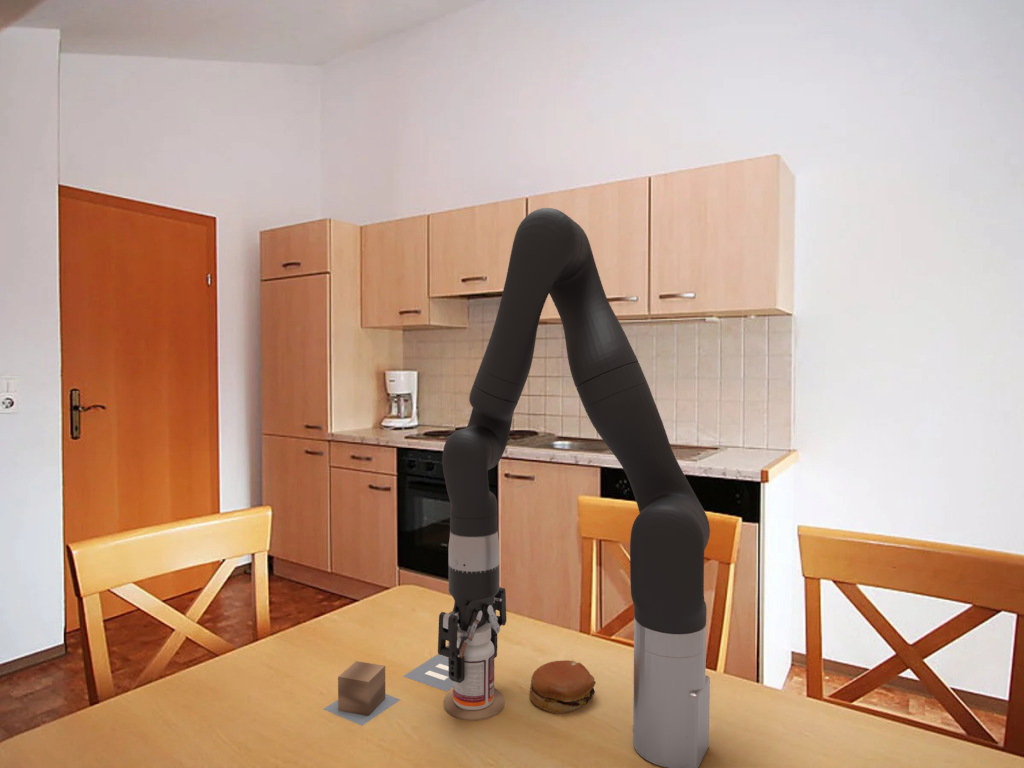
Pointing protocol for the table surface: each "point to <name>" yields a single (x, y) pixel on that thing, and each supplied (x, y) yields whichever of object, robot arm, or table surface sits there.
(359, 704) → the walnut block
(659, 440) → the robot arm
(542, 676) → the burger
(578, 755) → the table surface
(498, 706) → the coaster
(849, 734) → the table surface
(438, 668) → the code tile
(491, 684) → the pill bottle
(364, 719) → the code tile
